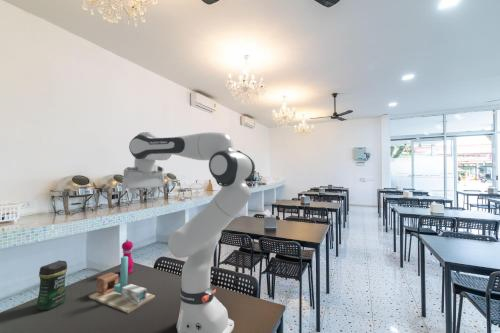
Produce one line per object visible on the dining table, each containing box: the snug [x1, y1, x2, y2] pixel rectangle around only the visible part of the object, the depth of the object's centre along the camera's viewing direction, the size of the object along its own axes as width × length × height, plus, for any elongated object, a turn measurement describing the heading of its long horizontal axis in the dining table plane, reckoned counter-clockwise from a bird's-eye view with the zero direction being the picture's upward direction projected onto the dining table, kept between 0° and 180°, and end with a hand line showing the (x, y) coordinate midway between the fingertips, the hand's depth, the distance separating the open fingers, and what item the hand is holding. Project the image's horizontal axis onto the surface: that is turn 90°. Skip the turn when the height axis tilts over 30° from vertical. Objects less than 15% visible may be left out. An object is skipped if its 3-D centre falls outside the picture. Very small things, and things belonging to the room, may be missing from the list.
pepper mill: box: [119, 238, 135, 275], centre depth 139 cm, size 7×7×20 cm
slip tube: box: [114, 256, 144, 299], centre depth 108 cm, size 17×3×16 cm, turn 64°
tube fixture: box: [88, 271, 156, 314], centre depth 110 cm, size 28×14×8 cm, turn 64°
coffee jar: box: [36, 260, 68, 311], centre depth 104 cm, size 10×8×19 cm
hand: (144, 197), depth 106 cm, fingers open, 8 cm apart
